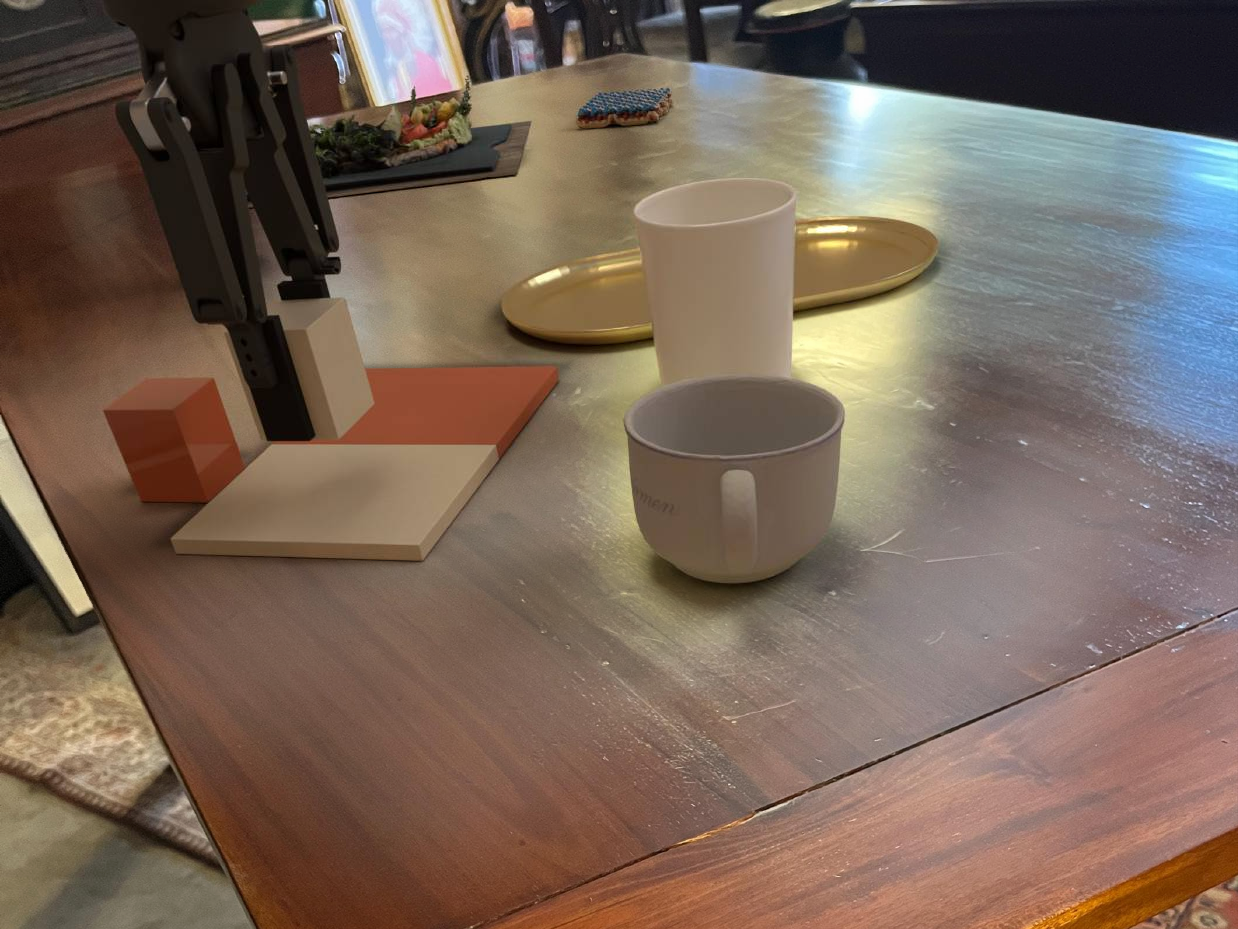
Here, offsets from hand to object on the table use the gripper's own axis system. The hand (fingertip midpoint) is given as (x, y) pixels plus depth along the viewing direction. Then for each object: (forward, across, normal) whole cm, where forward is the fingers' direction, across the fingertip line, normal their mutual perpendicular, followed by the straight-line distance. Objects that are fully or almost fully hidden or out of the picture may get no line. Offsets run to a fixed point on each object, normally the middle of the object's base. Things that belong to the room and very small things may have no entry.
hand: (313, 416), depth 70 cm
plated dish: (+6, +86, +35) cm, 93 cm away
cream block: (0, 0, 0) cm, 0 cm away
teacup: (+6, -6, -26) cm, 27 cm away
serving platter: (+6, +38, -16) cm, 42 cm away
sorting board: (+6, +7, 0) cm, 9 cm away
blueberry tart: (+6, +102, +9) cm, 103 cm away
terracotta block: (+6, +3, +12) cm, 14 cm away
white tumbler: (+6, +16, -21) cm, 27 cm away
